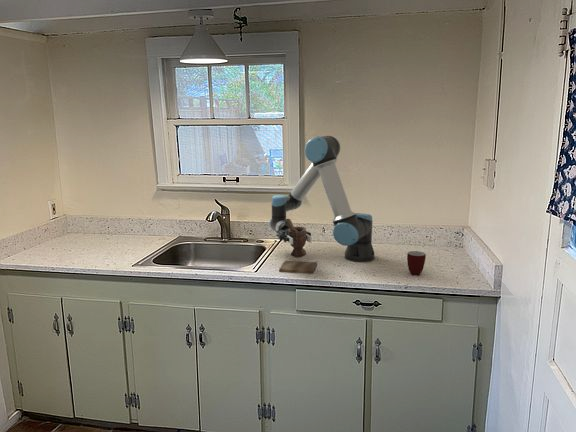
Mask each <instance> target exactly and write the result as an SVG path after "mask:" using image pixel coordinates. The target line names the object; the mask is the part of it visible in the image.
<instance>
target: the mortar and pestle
mask: <svg viewBox="0 0 576 432" xmlns="http://www.w3.org/2000/svg"><path fill="white" fill-rule="evenodd" d="M285 224H286V225H287V226H288V227H289V229H288V236H290V237H291V238H293V244H290V246H291V247H292V248H293V249H292V251H291V252H290V256H292V257H293V258H303V257H305V256H307V251H306V249H304V246H305V245H306V242H307V240H306V231H307V228H306V227H305V226H295V225H294V224H293V221H292V220H291V219H290V218H286V220H285Z"/></svg>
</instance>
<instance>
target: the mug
mask: <svg viewBox="0 0 576 432" xmlns="http://www.w3.org/2000/svg"><path fill="white" fill-rule="evenodd" d="M426 255H427V254H426V252H424V251H420V250H419V251H418V250H410V251H407V255H406V260H407V269H408V271H409V273H410V275H411V274H412V275H411V276H414V275H418V276H420V275H421V274H422V272H423V270H424V267H425V264H426V263H425V262H426V257H427V256H426Z"/></svg>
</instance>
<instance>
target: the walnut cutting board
mask: <svg viewBox="0 0 576 432" xmlns="http://www.w3.org/2000/svg"><path fill="white" fill-rule="evenodd" d="M317 265H318V262H317V261H307V260H306V261H304V260H303V261H302V260H287V259H285V260H284V261H283V263H282V264H281V266H280V267H279V268H278V271H279V272H281V273H294V274H295V273H298V274H311V275H313V274H314V272H315V270H316V268H317Z"/></svg>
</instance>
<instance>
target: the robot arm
mask: <svg viewBox="0 0 576 432" xmlns="http://www.w3.org/2000/svg"><path fill="white" fill-rule="evenodd" d="M340 144H341V143H340V141H339V140H338V139H337V138H336V137H334V136H332V135H324V136H320V135H319V136H315V137H311V138H310V139H309V140H308V141H307V142H306V143H305V147H304V155H305V157H306V159H307V160H308V161H309V162H311V163H310V165H309V167H308V168H307V169H306V170H305V172H304V173H303V174H302V176H301V177H300V178H299V180H298V181H297V183H296V184H295V186H294V187H293V188H292V190H291V191H290V192H289V193H288V195H287V196H286V195H284V194H276V195H275V194H274V195H273V196H272V197H271V218H270V220H269V224H268V225H269V227H270V228H271V230H272V231H273V232H275V235H276V237H277V238H278V240H279V241H280V242H281V241H283V243H287V242H288V243H289V244H290V245H291V244H293V238H291V237H290V236H288V229H289V227H288V226H287V225H286V224H285V220H286V219H287V212H290V211H293V210H296V209H298V208H300V207H301V206H302V203H303V199H304V198H305V197H306V195H307V194H308V193H309V192H310V190H311V189H312V188H313V187H314V185H315V184H316V182H317V181H318V180H319V178H320V179H321V182H322V185H323V188H324V191H325V194H326V196H327V199H328V202H329V205H330V208H331V211H332V214H333V219H332V224H333V230H332V236H333V238H334V240H335V242H336V243H338V244H339V245H341V246H345V247H346V249H345V251H344V259H346V260H349V261H350V262H351V261H352V262H358V263H359V262H360V263H363V262H371V261H373V260H375V256H376V255H375V251H374V248H373V244H372V241H373V240H372V239H373V238H372V237H373V236H372V235H373V215H372V214H369V213H363V212H362V213H361V212H354V211H352V209H351V206H350V203H349V200H348V197H347V194H346V192H345V188H344V185H343V182H342V179H341V177H340V173H339V171H338V168H337V165H336V164H337V161H338V159H337V158H338V156H339V154H340V152H341V145H340ZM306 242H308V243H310V244H311V243H312V233H311V232H309V231H307V230H306Z"/></svg>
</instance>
